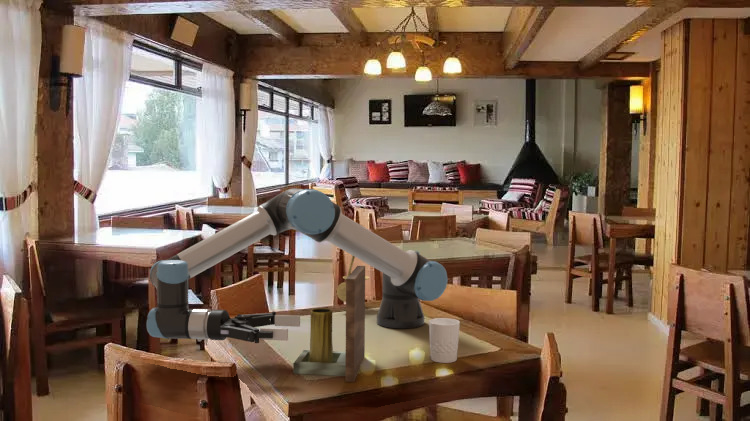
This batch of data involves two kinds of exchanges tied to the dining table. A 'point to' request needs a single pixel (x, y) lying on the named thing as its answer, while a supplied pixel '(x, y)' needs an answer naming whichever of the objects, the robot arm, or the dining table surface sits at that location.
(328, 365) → the board
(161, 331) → the robot arm
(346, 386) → the dining table surface
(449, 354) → the white cup
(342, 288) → the wall sconce
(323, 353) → the vase
